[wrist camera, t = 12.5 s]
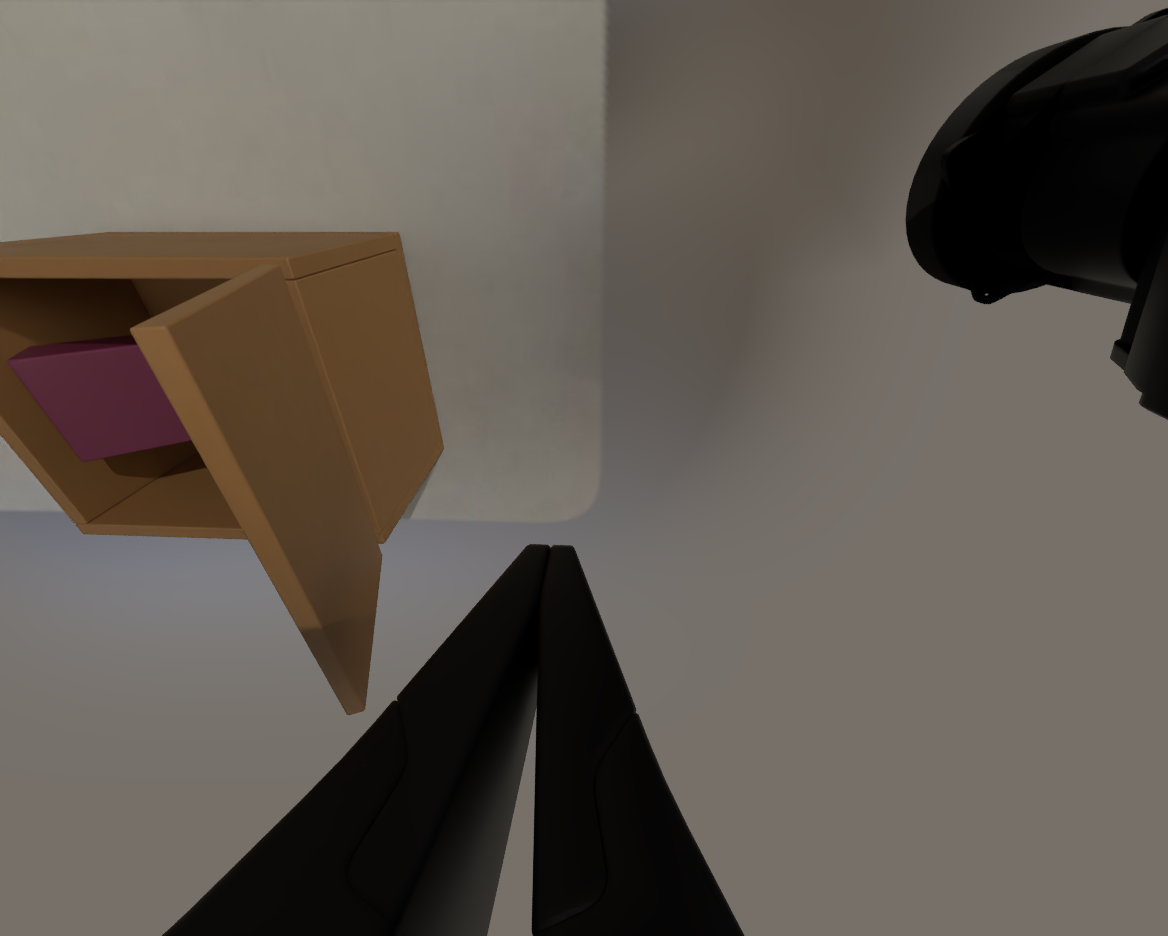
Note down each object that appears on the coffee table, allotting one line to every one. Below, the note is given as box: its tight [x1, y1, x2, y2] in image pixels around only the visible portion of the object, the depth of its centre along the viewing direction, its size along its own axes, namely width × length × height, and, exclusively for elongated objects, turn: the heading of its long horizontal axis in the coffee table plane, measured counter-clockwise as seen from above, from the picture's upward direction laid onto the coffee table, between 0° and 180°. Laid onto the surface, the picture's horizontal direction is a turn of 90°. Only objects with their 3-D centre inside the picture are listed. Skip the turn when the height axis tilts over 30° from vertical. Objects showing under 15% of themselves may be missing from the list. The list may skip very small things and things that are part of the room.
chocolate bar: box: [7, 335, 192, 462], centre depth 16 cm, size 4×8×2 cm
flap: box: [130, 264, 382, 715], centre depth 10 cm, size 5×9×1 cm
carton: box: [0, 232, 444, 544], centre depth 16 cm, size 11×9×6 cm
